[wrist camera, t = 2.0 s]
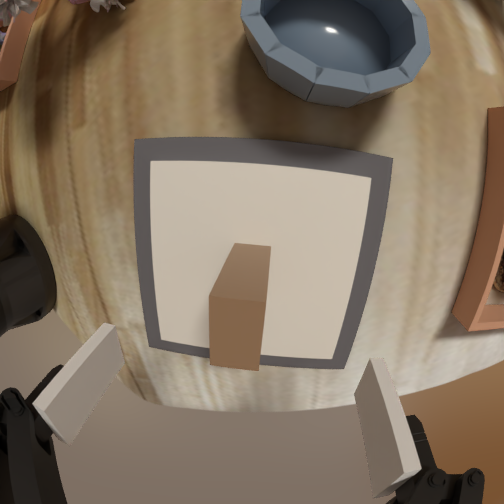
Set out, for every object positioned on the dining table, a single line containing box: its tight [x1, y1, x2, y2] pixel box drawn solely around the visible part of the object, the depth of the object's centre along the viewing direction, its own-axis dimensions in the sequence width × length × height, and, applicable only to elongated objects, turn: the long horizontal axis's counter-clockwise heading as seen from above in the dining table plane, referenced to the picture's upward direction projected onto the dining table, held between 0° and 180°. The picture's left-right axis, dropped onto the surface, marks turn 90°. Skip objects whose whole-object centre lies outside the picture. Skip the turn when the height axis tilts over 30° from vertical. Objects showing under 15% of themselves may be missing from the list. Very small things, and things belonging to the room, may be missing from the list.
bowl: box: [240, 0, 430, 108], centre depth 14 cm, size 13×13×6 cm
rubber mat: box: [134, 137, 393, 369], centre depth 24 cm, size 22×22×1 cm
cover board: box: [150, 161, 371, 371], centre depth 19 cm, size 18×18×10 cm
